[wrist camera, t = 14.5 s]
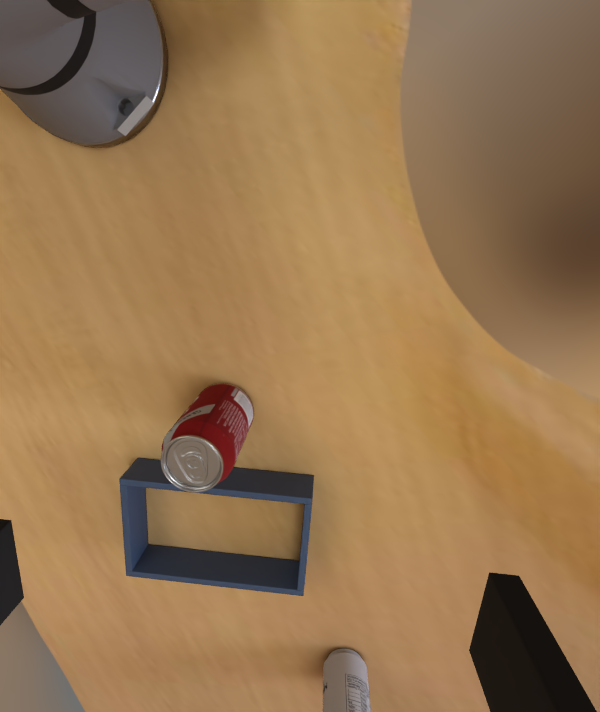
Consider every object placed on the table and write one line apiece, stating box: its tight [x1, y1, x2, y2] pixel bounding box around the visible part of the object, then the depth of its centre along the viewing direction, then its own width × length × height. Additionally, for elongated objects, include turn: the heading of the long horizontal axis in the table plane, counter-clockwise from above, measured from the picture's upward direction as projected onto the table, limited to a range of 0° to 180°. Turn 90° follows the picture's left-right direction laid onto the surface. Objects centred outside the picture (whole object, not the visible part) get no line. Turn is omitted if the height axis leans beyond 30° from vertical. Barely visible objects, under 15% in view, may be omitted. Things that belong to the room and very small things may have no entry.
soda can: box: [161, 383, 254, 492], centre depth 40 cm, size 7×7×12 cm
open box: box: [120, 458, 314, 596], centre depth 47 cm, size 14×22×4 cm, turn 86°
